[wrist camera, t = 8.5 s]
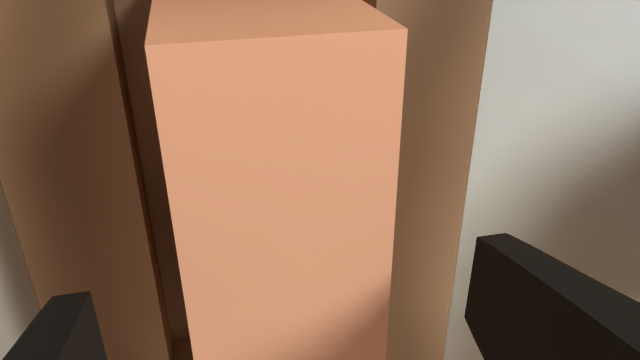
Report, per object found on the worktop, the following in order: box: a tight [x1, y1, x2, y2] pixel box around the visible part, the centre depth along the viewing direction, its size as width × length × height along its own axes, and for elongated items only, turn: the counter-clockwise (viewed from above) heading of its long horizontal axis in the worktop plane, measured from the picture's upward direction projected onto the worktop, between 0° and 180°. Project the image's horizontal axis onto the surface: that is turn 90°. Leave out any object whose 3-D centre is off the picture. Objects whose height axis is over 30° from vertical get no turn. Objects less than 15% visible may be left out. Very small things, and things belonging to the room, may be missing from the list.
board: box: [0, 0, 493, 360], centre depth 14 cm, size 12×18×5 cm, turn 0°
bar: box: [144, 0, 408, 360], centre depth 13 cm, size 10×4×6 cm, turn 1°
